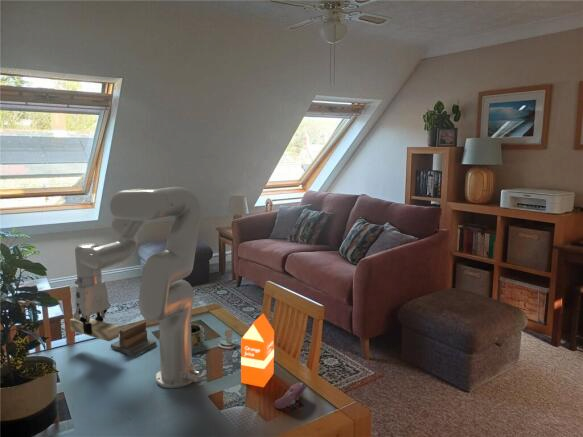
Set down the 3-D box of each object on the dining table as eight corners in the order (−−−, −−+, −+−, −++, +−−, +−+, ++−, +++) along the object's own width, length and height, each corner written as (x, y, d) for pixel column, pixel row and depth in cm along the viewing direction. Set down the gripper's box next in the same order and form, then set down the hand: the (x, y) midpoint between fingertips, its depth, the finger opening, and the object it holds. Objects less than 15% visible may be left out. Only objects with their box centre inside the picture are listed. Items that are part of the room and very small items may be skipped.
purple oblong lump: (283, 417, 121) (294, 400, 119) (271, 405, 123) (281, 388, 120) (301, 400, 130) (311, 384, 127) (290, 389, 131) (299, 373, 129)
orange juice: (240, 382, 135) (240, 321, 132) (251, 369, 144) (252, 311, 140) (264, 387, 133) (264, 325, 130) (274, 373, 141) (275, 314, 138)
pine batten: (119, 336, 148) (118, 325, 147) (109, 341, 144) (108, 329, 144) (80, 326, 157) (79, 315, 157) (70, 330, 154) (69, 319, 153)
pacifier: (232, 351, 156) (240, 343, 162) (232, 335, 155) (239, 328, 161) (214, 348, 159) (222, 340, 164) (214, 332, 157) (221, 325, 163)
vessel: (210, 344, 161) (210, 328, 160) (193, 353, 154) (193, 336, 153) (187, 336, 167) (187, 320, 166) (170, 344, 160) (169, 328, 159)
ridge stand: (156, 345, 159) (155, 324, 158) (134, 356, 150) (133, 334, 149) (133, 337, 165) (132, 317, 163) (110, 348, 156) (109, 327, 155)
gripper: (74, 288, 139) (79, 342, 142) (117, 275, 153) (121, 324, 156) (59, 285, 142) (64, 338, 145) (103, 272, 157) (107, 321, 160)
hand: (94, 330), depth 151 cm, fingers closed on pine batten, 4 cm apart
